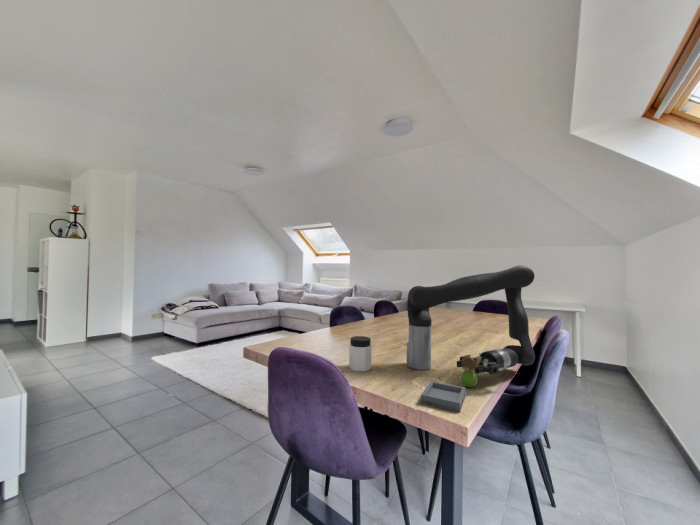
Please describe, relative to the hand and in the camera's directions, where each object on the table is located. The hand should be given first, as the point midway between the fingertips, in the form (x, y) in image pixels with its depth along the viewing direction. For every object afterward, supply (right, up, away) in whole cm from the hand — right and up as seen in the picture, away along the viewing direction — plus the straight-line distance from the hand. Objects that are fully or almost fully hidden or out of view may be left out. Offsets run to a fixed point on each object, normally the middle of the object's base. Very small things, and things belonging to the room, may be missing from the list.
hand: (466, 367), depth 101 cm
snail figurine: (+2, -7, +1) cm, 8 cm away
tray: (-11, -7, -9) cm, 16 cm away
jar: (-36, -7, +18) cm, 41 cm away
